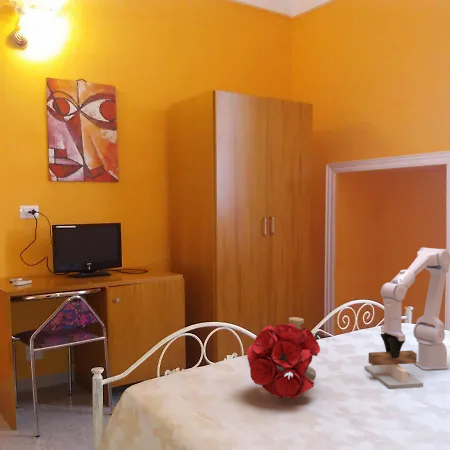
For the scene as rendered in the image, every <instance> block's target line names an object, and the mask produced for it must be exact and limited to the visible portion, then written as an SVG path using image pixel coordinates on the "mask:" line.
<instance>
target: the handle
mask: <svg viewBox="0 0 450 450" xmlns="http://www.w3.org/2000/svg"><path fill="white" fill-rule="evenodd" d="M288 322H289V324H294V325H295V326H296V327H297V328H299V329H300V330H301V331H302V329H301V325H303V324H304V323H305V319H304V318H301V317H297V316H296V317H295V316H291V317H288Z"/></svg>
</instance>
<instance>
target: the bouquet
mask: <svg viewBox="0 0 450 450" xmlns="http://www.w3.org/2000/svg"><path fill="white" fill-rule="evenodd" d="M320 352H321V347H320V345H319V342H318V340H317V339H316V337H315V335H314V334H313V332H312V331H311V330H309V329H308V328H307V327H305V328H302V329H301V330H300V329H299V328H297V327H296V326H295V325H294V324H291V323H284V324H282V323H278V324H276V326H272V325H267V326H264V328H262V329H261V330H260V332H258V334H257V335H256V337H255V338H254V340H253V342H252V344H250V346H249V347H247V350H246V356H247V358H246V359H247V362H248V366H249V372H250V374H249V375H250V378H251V380H252V381H253V383H254V384H256V385H258V386H262V388H263V389H264V390H265V391H267V393H268V394H270V395H272V396H274V397H276V398H280V399H283V398H286V399H291V400H296V399H297V397H299V396H302V394H304V393H305V392H308V391H309V390H310V389H313V388H314V386H315V383H314V381H315V380H316V377H317V371H316V370H315V369H314V368H313V367H312V366H310V364H311V363H312V361H313V357H318V354H319V353H320ZM287 373H288V374H287ZM289 373H291V374H292V375H291V374H290V375H289ZM286 374H287V375H286Z"/></svg>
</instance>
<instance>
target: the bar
mask: <svg viewBox="0 0 450 450" xmlns="http://www.w3.org/2000/svg"><path fill="white" fill-rule="evenodd" d="M417 355H418V353H417V352H415V351H414V350H400V354H399V357H398V358H392V356H391V351H390V352H386V351H376V352H374V351H373V352H372V351H371V352H368V363H369V364H370V365H373V366H375V365H393V364H398V365H405V364H406V365H409V364H410V365H411V364H414V363H417V362H418V356H417Z"/></svg>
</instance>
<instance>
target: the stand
mask: <svg viewBox="0 0 450 450" xmlns="http://www.w3.org/2000/svg"><path fill="white" fill-rule="evenodd" d="M364 370H365V371H366V372H368V373H369V374H370V375H372V377H374V378H375V379H376V380H377V381H378V382H380V383H381V384H382V385H383V386H385V387H386V388H387V389H389V390H392V389H393V390H394V389H408V388H410V389H411V388H424V382H422V381H421V380H419V379H418V378H416V377H415V376H414V375H412V374H410V373H409V372H408V370H406V369H405V368H404V367H402V366H401V365H400V364H393V365H375V366H373V365H371V364H370V365H364Z"/></svg>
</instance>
